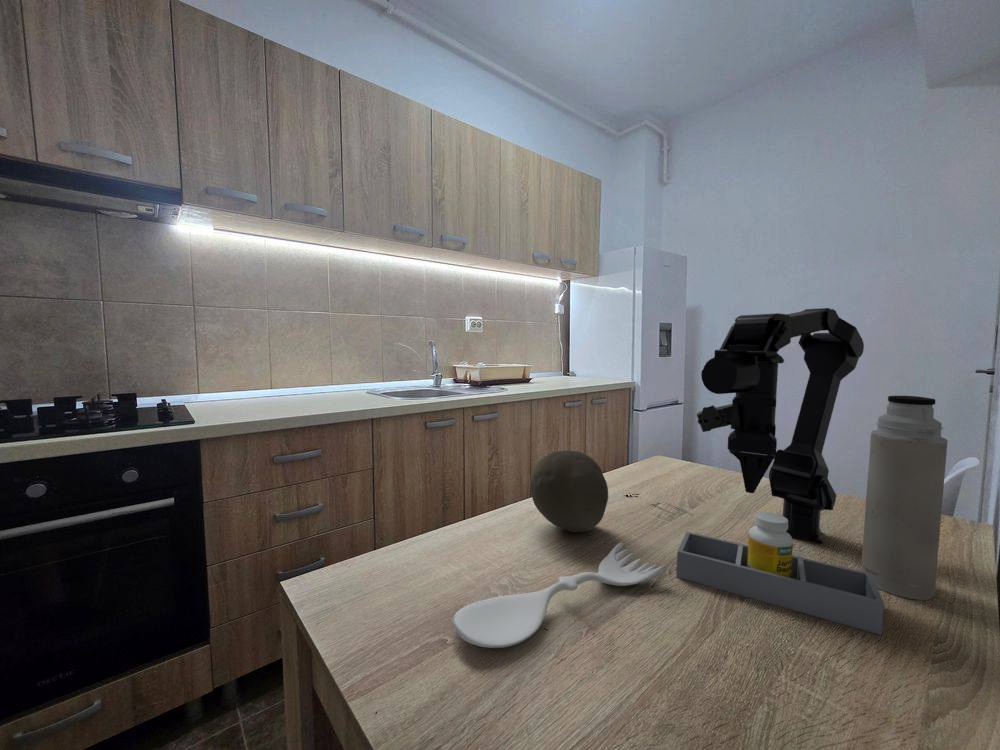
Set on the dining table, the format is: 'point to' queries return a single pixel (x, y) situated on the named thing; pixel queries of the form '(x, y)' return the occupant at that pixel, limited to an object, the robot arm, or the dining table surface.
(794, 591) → the slot holder
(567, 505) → the brown coconut
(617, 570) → the spoon
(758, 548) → the supplement bottle
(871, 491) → the thermos bottle
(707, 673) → the dining table surface
